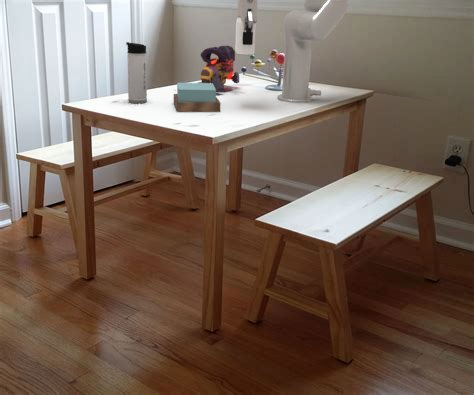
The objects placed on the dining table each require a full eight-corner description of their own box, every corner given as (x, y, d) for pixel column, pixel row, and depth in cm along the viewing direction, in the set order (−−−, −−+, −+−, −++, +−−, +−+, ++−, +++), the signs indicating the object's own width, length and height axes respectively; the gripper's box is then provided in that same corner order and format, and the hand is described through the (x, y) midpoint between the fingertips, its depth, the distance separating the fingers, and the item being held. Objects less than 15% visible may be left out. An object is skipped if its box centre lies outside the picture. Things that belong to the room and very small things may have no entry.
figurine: (218, 97, 230) (220, 50, 224) (188, 91, 237) (188, 46, 231) (246, 89, 246) (248, 46, 240) (217, 84, 253) (218, 42, 247)
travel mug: (125, 100, 218) (124, 41, 211) (144, 99, 220) (143, 41, 213) (129, 104, 213) (128, 43, 206) (148, 103, 215) (148, 43, 208)
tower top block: (212, 94, 216) (212, 83, 215) (215, 102, 205) (216, 90, 203) (177, 94, 214) (177, 82, 213) (178, 101, 203) (178, 89, 202)
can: (252, 55, 206) (254, 18, 202) (233, 54, 207) (234, 17, 203) (256, 53, 212) (257, 16, 208) (237, 52, 213) (238, 15, 209)
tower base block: (213, 105, 219) (214, 94, 218) (220, 114, 206) (220, 102, 205) (173, 105, 216) (173, 93, 215) (177, 114, 204) (177, 102, 202)
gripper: (264, -13, 195) (262, 46, 201) (253, -15, 211) (251, 40, 217) (240, -13, 193) (239, 46, 200) (231, -16, 209) (229, 39, 216)
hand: (245, 42), depth 208 cm, fingers closed on can, 6 cm apart
